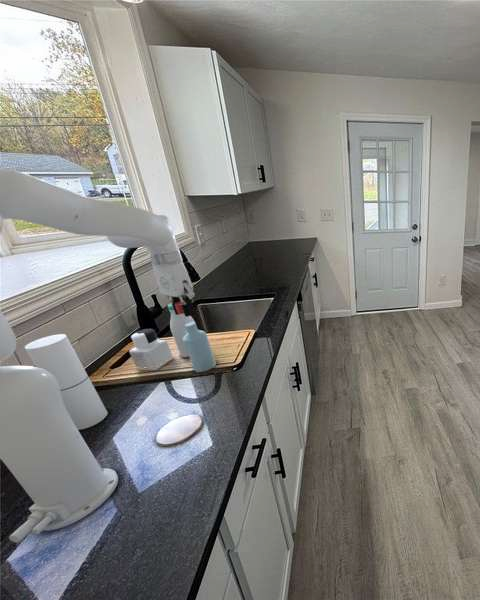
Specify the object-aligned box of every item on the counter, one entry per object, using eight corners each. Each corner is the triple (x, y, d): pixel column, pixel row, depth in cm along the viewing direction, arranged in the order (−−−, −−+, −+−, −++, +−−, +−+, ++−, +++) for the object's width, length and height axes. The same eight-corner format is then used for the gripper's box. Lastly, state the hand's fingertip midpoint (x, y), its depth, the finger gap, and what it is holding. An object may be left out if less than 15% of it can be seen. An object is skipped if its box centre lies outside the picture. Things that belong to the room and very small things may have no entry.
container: (155, 357, 116) (142, 326, 111) (174, 358, 114) (161, 326, 109) (136, 370, 108) (121, 337, 103) (156, 370, 107) (141, 337, 102)
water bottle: (209, 371, 105) (193, 328, 98) (190, 372, 105) (173, 329, 99) (220, 360, 111) (206, 319, 104) (202, 361, 111) (187, 319, 105)
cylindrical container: (86, 431, 82) (38, 349, 73) (66, 428, 84) (16, 348, 74) (114, 411, 89) (73, 334, 79) (94, 409, 90) (52, 333, 81)
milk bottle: (196, 357, 114) (178, 307, 106) (175, 358, 114) (156, 308, 106) (208, 346, 121) (192, 298, 113) (189, 347, 121) (171, 299, 114)
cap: (190, 307, 102) (187, 299, 101) (194, 310, 100) (191, 301, 98) (176, 312, 99) (172, 303, 98) (180, 315, 97) (176, 305, 96)
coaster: (186, 445, 76) (185, 443, 76) (146, 446, 76) (145, 444, 76) (210, 415, 85) (209, 413, 85) (174, 416, 85) (174, 415, 85)
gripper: (136, 260, 93) (158, 315, 100) (170, 263, 86) (191, 322, 93) (162, 253, 99) (181, 306, 106) (196, 256, 93) (214, 312, 100)
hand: (185, 313), depth 100 cm, fingers closed on cap, 4 cm apart
